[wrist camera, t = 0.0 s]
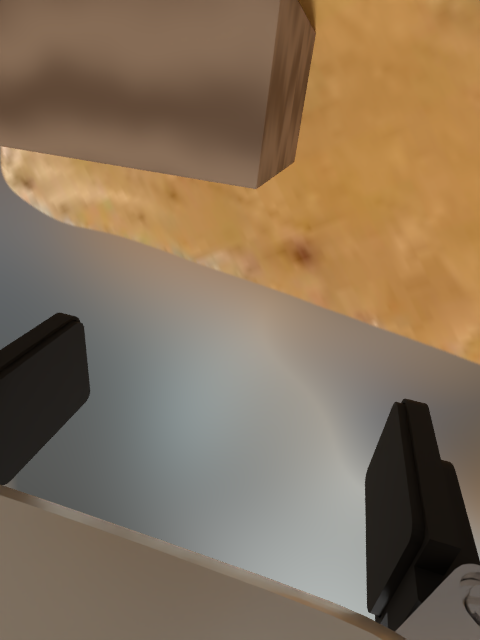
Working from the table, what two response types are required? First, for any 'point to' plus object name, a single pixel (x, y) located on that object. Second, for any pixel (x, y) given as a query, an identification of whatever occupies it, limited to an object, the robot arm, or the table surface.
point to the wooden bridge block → (157, 83)
